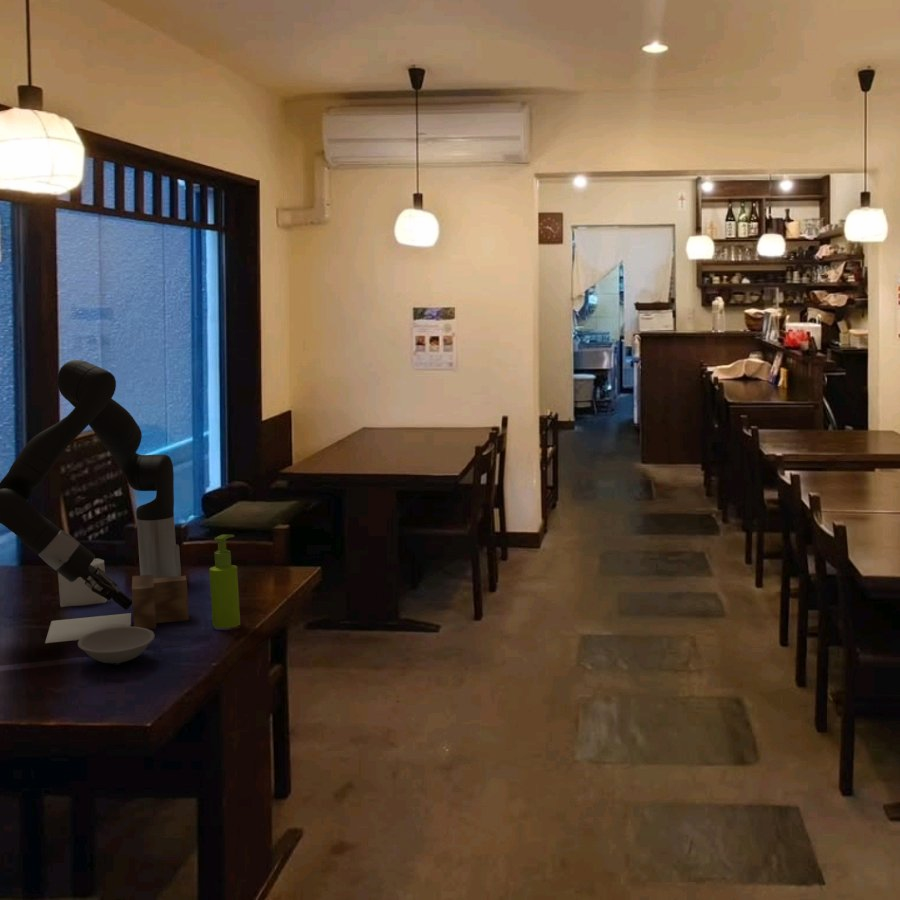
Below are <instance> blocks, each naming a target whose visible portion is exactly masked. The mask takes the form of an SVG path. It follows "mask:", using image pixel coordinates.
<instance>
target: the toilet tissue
mask: <svg viewBox="0 0 900 900" xmlns="http://www.w3.org/2000/svg"><path fill="white" fill-rule="evenodd" d="M90 565H92V566H93V567H95V568H97V567H99V568H100V569H101V570H103V571H104V572H105V573H106V571H105V560H104V559H101V558H94V560H93V561H92V563H91V564H90ZM57 579H58V592H59V605H60V608H64V607H77V606H78V607H79V606H89V605H95V604H96V605H97V604H105V603H107V602H108V600H107V599H106V598H104V597H102V596H100V595H99V594H97V593H95V592H93V591H92V590H91V588H89V587H88V586H86V585H85V581H84V580H83V579H82V578H81V577H78V578H77V579H76V580H75V581H74V582H70V581H68V580H67V579H66V578H65V577H63V576H62V575H61V574H60V573H58V572H57Z"/></svg>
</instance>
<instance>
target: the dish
mask: <svg viewBox="0 0 900 900" xmlns="http://www.w3.org/2000/svg"><path fill="white" fill-rule="evenodd" d="M155 637H156V636H155V633H154V631H153V630H152V629H146V628H142V627H134V626H132V625H131V626H125V627H113V628H106V629H102V630H98V631H95V632H92V633H89V634H87V635H85V636H83V637H82V638H81V639H80V640H77V647H78V648H79V649H80V650H82V651H84V652H85V653H86V654H87V656H89V657H90V658H92V659H93V660H95V661H97V662H99V663H104V664H114V663H121V662H123V663H124V662H125V663H126V662H128V661H132V660H133V659H135V658H137V657H138V656H140V655H141V654H142V653H143V652H144V651H146V649H147V648H148V646H149V645H150V643H152V642H153V641H154V639H155Z"/></svg>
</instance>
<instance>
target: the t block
mask: <svg viewBox="0 0 900 900" xmlns="http://www.w3.org/2000/svg"><path fill="white" fill-rule="evenodd" d="M131 580H132V581H131V600H132V613H133V627H142V628H146V629H149V630H152V629H157V624H161V623H171V622H173V623H174V622H180V621H189V620H190V615H189V612H190V611H189V599H188V598H189V596H188V584H187V583H188V581H187V575H181V576H176V577H165V578H153V574H152V575H141V576H140V575H132V579H131Z"/></svg>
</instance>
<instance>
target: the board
mask: <svg viewBox="0 0 900 900" xmlns="http://www.w3.org/2000/svg"><path fill="white" fill-rule="evenodd" d="M125 626H132V613H131V612H130V613H120V614H119V613H118V614H117V613H116V614H110V615H109V614H108V615H107V614H106V615H98V616H97V615H96V616H90V617H89V616H88V617H79V618H78V617H77V618H69V619H59V620H58V619H57V620H51V622H50V625H49V628H48V632H47V636H46V639H45V642H44V644H53V643H61V642H62V643H63V642H69V641H72V642H73V641H79V640H80V639H81V638H82V637H83V636H85V635H87V634H89V633H92V632H95V631H98V630H102V629H106V628H113V627H125Z"/></svg>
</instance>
